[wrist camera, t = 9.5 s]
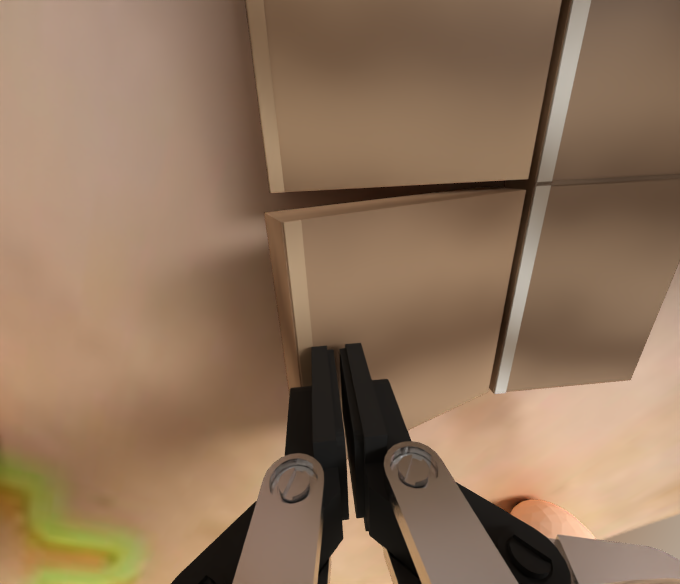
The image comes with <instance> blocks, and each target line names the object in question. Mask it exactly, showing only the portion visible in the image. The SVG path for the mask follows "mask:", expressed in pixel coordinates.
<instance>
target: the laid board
mask: <svg viewBox="0 0 680 584" xmlns="http://www.w3.org/2000/svg"><path fill="white" fill-rule="evenodd" d="M505 188H511V189H523V190H526V193H525V198H524V204H523V209H522V214H521V220H520V225H519V230H518V236H517V241H516V246H515V252H514V257H513V262H512V267H511V273H510V278H509V283H508V289H507V294H506V299H505V305H504V310H503V315H502V321H501V326H500V331H499V337H498V342H497V347H496V353H495V358H494V363H493V369H492V374H491V379H490V385H489V388H490V389H491V391H492V392H493V393H495V394H500V393H506V392H510V391H521V390H531V389H542V388H552V387H563V386H574V385H584V384H595V383H605V382H616V381H626V380H631V378H632V375H633V373H634V370H635V368H636V366H637V363H638V361H639V358H640V356H641V354H642V351H643V349H644V346H645V344H646V341H647V339H648V337H649V334H650V332H651V329H652V327H653V324H654V322H655V320H656V317H657V315H658V312H659V310H660V308H661V305H662V303H663V300H664V298H665V295H666V293H667V291H668V288H669V286H670V283H671V281H672V279H673V276H674V274H675V271H676V269H677V266H678V264H679V262H680V0H562V1H561V7H560V12H559V17H558V23H557V28H556V33H555V39H554V44H553V49H552V55H551V60H550V65H549V71H548V76H547V81H546V87H545V92H544V97H543V102H542V108H541V113H540V118H539V124H538V129H537V134H536V140H535V145H534V150H533V156H532V161H531V166H530V172H529V177H528V179H519V180H506V182H505Z"/></svg>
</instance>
